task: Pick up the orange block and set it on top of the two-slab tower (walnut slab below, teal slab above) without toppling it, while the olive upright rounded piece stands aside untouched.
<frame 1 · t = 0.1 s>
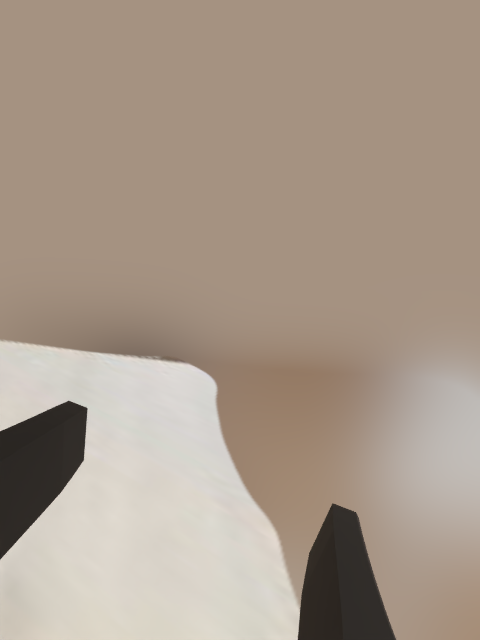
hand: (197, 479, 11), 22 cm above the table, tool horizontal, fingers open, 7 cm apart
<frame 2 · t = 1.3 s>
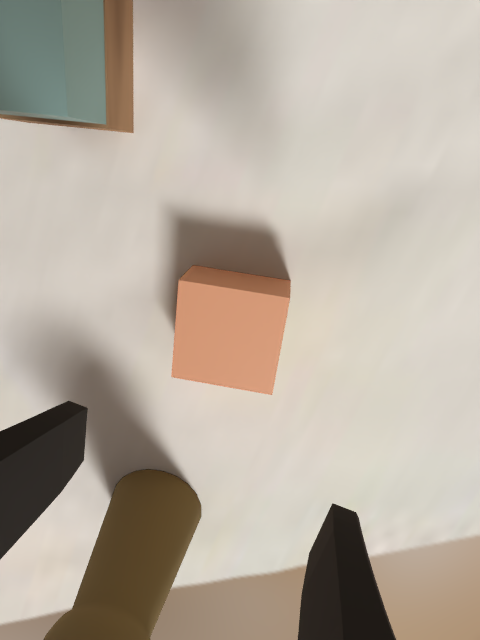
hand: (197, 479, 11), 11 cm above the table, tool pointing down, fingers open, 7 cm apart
orange block: (235, 316, 22), on the table
olive upright rounded piece: (157, 503, 27), on the table
teal slab: (40, 45, 15), point 3 cm above the table, touching walnut slab
walnut slab: (80, 66, 18), on the table, touching teal slab
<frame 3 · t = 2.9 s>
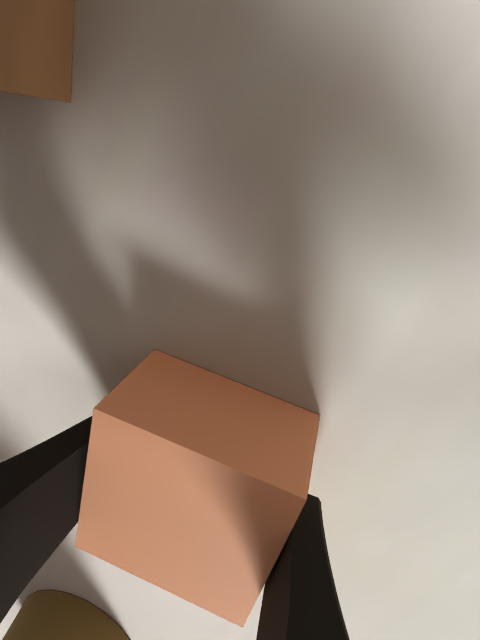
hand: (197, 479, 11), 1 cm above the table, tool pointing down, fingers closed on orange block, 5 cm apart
orange block: (214, 445, 12), on the table, touching gripper
olive upright rounded piece: (81, 631, 19), on the table
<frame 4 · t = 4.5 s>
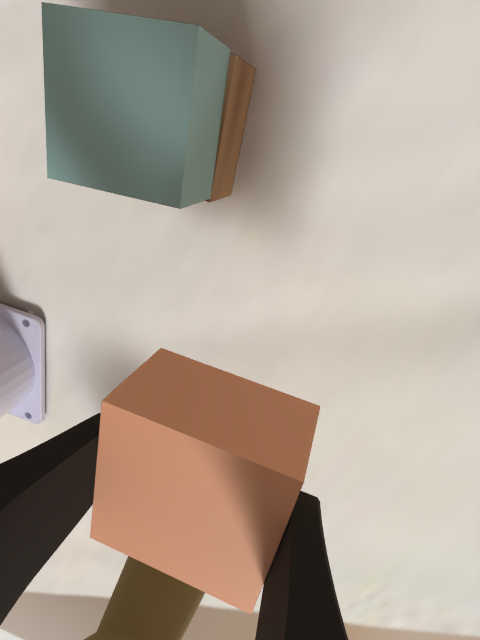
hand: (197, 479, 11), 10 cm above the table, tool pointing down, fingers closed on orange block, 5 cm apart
orange block: (220, 440, 13), point 8 cm above the table, touching gripper
olive upright rounded piece: (187, 528, 28), on the table
teal slab: (157, 117, 15), point 3 cm above the table, touching walnut slab
walnut slab: (190, 123, 18), on the table, touching teal slab
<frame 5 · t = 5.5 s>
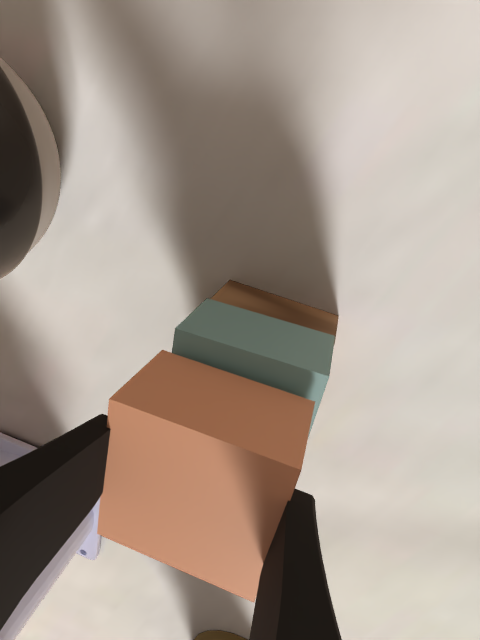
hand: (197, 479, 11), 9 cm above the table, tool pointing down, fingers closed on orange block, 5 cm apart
orange block: (221, 437, 13), point 6 cm above the table, touching gripper
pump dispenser: (8, 157, 19), on the table
teal slab: (255, 372, 16), point 3 cm above the table
walnut slab: (268, 343, 19), on the table
when the fingers open (9 cm above the table, at t = 5.8 s): orange block stays where it is, resting on teal slab.
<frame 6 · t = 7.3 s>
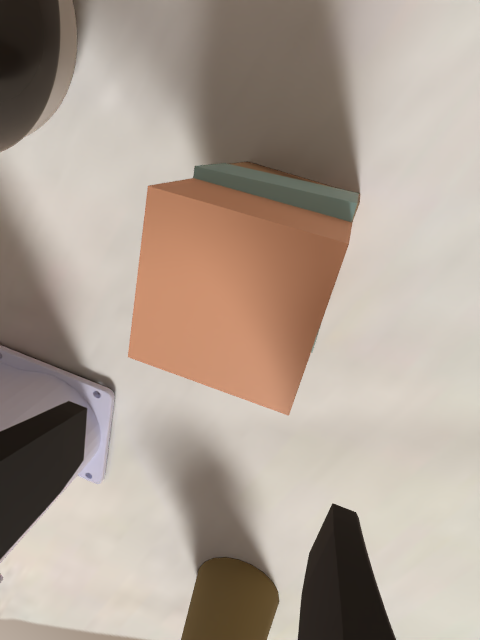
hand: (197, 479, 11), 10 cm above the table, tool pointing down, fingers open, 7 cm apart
orange block: (251, 276, 13), point 6 cm above the table, touching teal slab
olive upright rounded piece: (238, 586, 29), on the table
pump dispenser: (21, 35, 18), on the table
teal slab: (274, 244, 16), point 3 cm above the table, touching orange block, walnut slab
walnut slab: (286, 233, 18), on the table, touching teal slab
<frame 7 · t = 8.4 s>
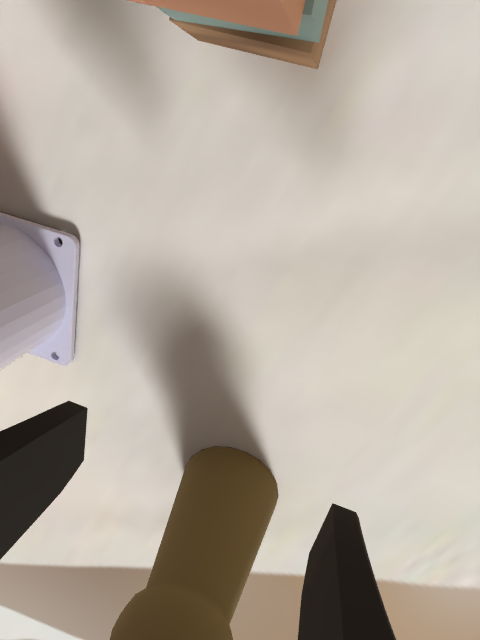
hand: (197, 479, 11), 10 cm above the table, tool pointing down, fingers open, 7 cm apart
olive upright rounded piece: (231, 483, 25), on the table
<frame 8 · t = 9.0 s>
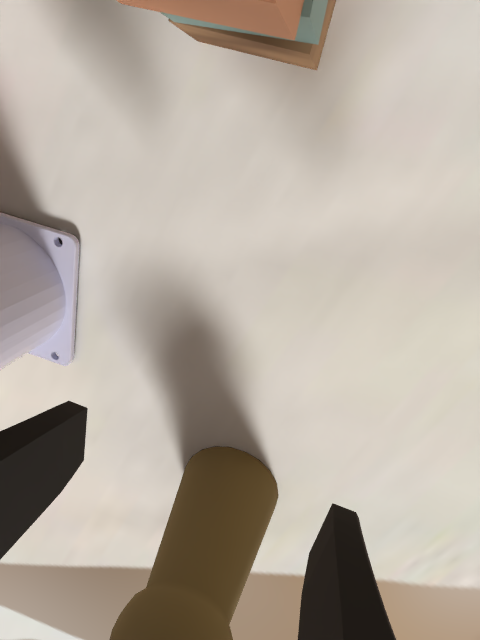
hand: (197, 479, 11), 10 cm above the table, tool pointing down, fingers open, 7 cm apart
olive upright rounded piece: (231, 483, 25), on the table
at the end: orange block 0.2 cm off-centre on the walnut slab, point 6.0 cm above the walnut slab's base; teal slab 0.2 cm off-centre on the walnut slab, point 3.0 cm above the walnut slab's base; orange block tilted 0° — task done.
